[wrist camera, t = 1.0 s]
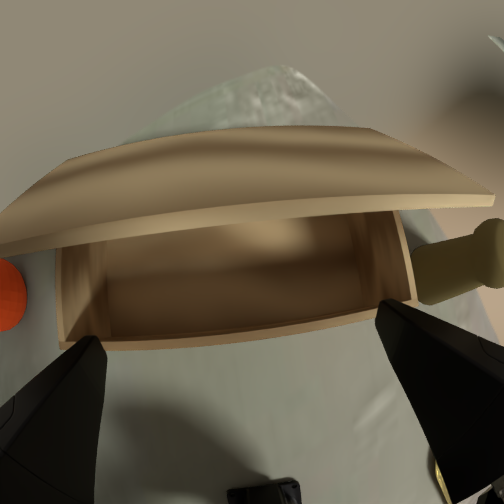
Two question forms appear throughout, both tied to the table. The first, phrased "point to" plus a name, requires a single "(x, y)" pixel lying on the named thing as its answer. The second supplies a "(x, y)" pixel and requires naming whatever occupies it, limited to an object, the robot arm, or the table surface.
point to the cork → (460, 264)
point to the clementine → (11, 295)
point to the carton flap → (228, 184)
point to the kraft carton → (232, 281)
